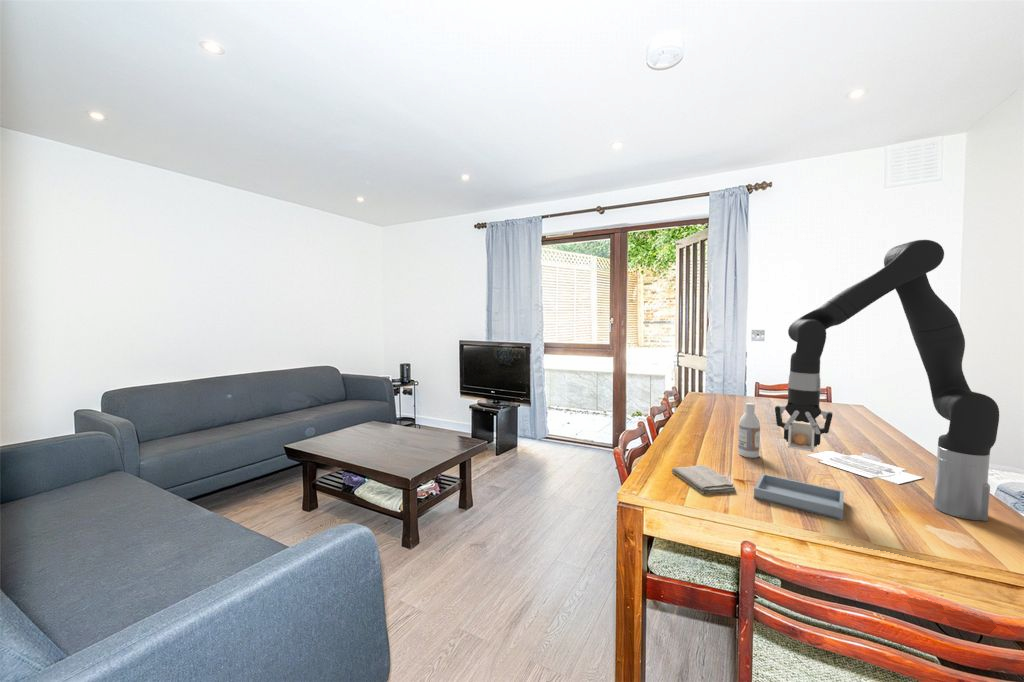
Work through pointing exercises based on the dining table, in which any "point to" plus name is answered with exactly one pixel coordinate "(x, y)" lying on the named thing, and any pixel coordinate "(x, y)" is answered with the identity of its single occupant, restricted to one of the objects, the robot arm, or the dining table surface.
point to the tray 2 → (865, 466)
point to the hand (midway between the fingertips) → (801, 443)
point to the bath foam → (749, 433)
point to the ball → (800, 439)
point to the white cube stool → (806, 431)
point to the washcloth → (704, 479)
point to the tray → (800, 496)
